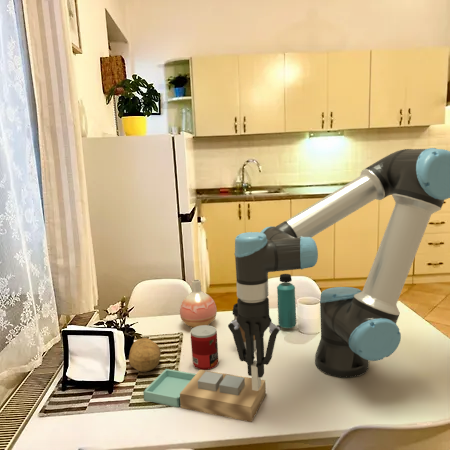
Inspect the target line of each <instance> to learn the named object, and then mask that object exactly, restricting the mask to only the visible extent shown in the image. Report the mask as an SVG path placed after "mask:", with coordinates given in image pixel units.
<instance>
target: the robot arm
mask: <svg viewBox="0 0 450 450" xmlns="http://www.w3.org/2000/svg"><path fill="white" fill-rule="evenodd" d="M389 196H392V198H393V200H394V208H393V210H392V212H391V215H390V218H389V220H388V223H387V226H386V228H385V229H384V230H385V231H384V233H383V236H382V239H381V241H380V244H379V247H378V250H377V252H376V254H375V257H374V259H373V262H372V264H371V267H370V271H369V273H368V275H367V278H366V281H365V282H364V285H363V288H362V290H361V289H359V288H357V287H351V286H335V287H329V288H326V289H324V290H322V292H321V293H320V298H319V299H320V300H319V304H320V305H319V306H320V309H319V310H320V312H319V313H320V314H319V315H320V340H319V343H318V346H317V348H316V352H315V356H314V357H315V358H314V363H315V366H316V367H317V369H318V370H319V371H321V372H323V373H325V374H326V375H328V376H332V377H336V378H337V377H338V378H346V379H347V378H355V377H359V376H363V375H364V374H366V373H367V372H368V370H369V367H370V365H369V361H371V362H377V361H382V360H384V358H388V357H390V356H391V355H392V354H394V353H395V352H396V350H397V349H398V348H399V345H400V343H401V337H402V336H401V335H402V334H401V332H400V328H399V326H398V325H397V322H398V320H399V317H400V311H399V308H398V306H397V304H398V301H399V299H400V296H401V294H402V291H403V289H404V286H405V284H406V281H407V278H408V275H409V273H410V271H411V268H412V265H413V263H414V260H415V258H416V254H417V252H418V249H419V247H420V245H421V242H422V239H423V237H424V234H425V232H426V229H427V227H428V224H429V221H430V218H431V216H432V215H433V214H435V213H436V212H439V211H441V210H442V207H443V205H444V202H445V200H447V199H450V150H448V149H442V148H436V147H429V148H404V149H400V150H399V149H398V150H396V151H395V152H392V153H390V154H387V155H386V156H384V157H382V158H380V159H379V160H377V161H375V162H374V163H373V164H371V165H369V166H367V167H365V168H364V169H363V170H361V172H360V175H359V176H358V177H356V178H355V179H353V180H351V181H349V182H347V183H346V184H344V185H343V186H341V187H339V188H337V190H335V191H333V192H330V194H328V195H326V196H325V197H323V198H321V199H319V200H318V201H317V202H314V203H313V204H311V205H310V206H308V207H307V208H305V209H303V210H302V211H300V212H298V213H297V214H295V215H293V216H291V217H290V218H288V219H286V220H285V221H283V222H281V223H278V225H276V226H266V227H264V228H263V229H262V230H260V232H259V231H254V232H253V231H248V232H242V233H240V234H238V235H236V237H235V239H234V258H235V262H234V263H235V276H236V277H235V278H236V297H237V301H236V302H237V304H238V316H237V319H236V320H235V321H234V319H233V320H231V321H230V323H229V324H228V326H227V327H228V329H229V330H230V332H231V333H232V336H233V340H234V345H235V348H236V351H237V355H238V358H239V360H240V362H245V363H246V364H247V374H248V376H249V377H251V378H252V390H255V391H258V390H259V388H260V386H261V380H262V378H263V377H264V375H265V365H266V366H268V365H269V364H270V362H271V360H272V357H273V354H274V353H273V352H274V349H275V344H276V339H277V336H278V334H279V333H280V330H281V329H282V327H281V326H279V324H275V323H274V322H272V318H271V316H270V302H269V301H270V299H269V297H268V296H269V273H272V272H273V273H275V272H285V271H295V270H304V269H309V268H313V267H315V266H316V264H317V262H318V260H319V250H318V246H317V243H316V241H315V239H314V238H313V237H315V236H317V235H319V233H321V232H322V231H324V230H326V229H328V228H329V227H331V226H333V225H334V224H336V223H338V222H339V221H341V220H343V219H344V218H347V217H348V216H349V215H352V214H353V213H355V212H357V211H358V210H359V209H361V208H363V207H365V206H366V205H368V204H369V203H371V202H373V201H375V200H378V201H383V200H384V199H385V198H387V197H389ZM239 327H241V328H242V329H243V331H244V332H245V339H246V348H245V344H244V341H243V337H242V334H241V330H240V328H239ZM268 328H269V338H268V342H267V346H266V351H265V343H264V342H265V341H264V336H265V332H266V331H267V329H268ZM253 335H255V340H256V350H255V351H254V337H253ZM255 355H256V356H255ZM255 359H256V360H255Z"/></svg>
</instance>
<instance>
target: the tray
mask: <svg viewBox="0 0 450 450" xmlns="http://www.w3.org/2000/svg"><path fill="white" fill-rule="evenodd" d="M196 374H197V373H193V372H189V371H188V372H187V371H181V370H175V369H174V370H173V369H169V368H165V369H164V370H163V371H162V372H161V373H160V374H159V375H158V376H157V377H156V378H155V379H154V380H153V381H152V382H151V383H150V384H149V385H148V386H147V387H146V388H145V389H144V390H143V392H142V393H143V394H142V395H143V400H144V401H146V402H151V403H156V404H161V405H164V406H165V405H166V406H169V407H170V406H171V407H174V408H175V407H176V408H181V403H180V393H181V391H182V390H183V389H184V388H185V387H186V386H187V384H188V383H189V382H190V381H191V380H192V378H193V377H194V376H195V375H196Z"/></svg>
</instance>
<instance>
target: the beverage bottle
mask: <svg viewBox="0 0 450 450" xmlns="http://www.w3.org/2000/svg"><path fill="white" fill-rule="evenodd" d="M292 279H293V278H292V275H291V274H289V273H282V274H280V275H279V282H280V283H279V284H278V285H277V287H276V289H277V290H276V291H277V320H278V321H277V322H278V325H279V326H280V327H281V328H285V329H292V328H295V327H296V326H297V306H296V304H297V303H296V286H295V285H294V284H293V283H292Z"/></svg>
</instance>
